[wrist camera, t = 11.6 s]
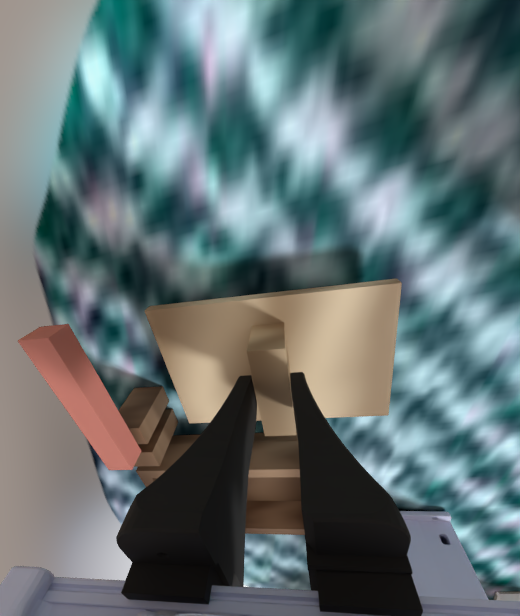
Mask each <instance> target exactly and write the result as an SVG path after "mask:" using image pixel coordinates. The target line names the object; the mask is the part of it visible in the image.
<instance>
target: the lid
mask: <svg viewBox="0 0 520 616" xmlns="http://www.w3.org/2000/svg"><path fill="white" fill-rule="evenodd" d="M401 285H402V283H401V282H400V281H399V280H398V279H389V280H380V281H371V282H362V283H353V284H344V285H335V286H326V287H317V288H308V289H299V290H290V291H281V292H272V293H263V294H254V295H245V296H236V297H227V298H218V299H209V300H200V301H192V302H183V303H174V304H165V305H156V306H149V307H148V308H147V309H146V310H145V314H146V316H147V319H148V321H149V324H150V326H151V329H152V331H153V334H154V336H155V339H156V341H157V344H158V346H159V349H160V351H161V354H162V356H163V359H164V361H165V364H166V366H167V369H168V371H169V374H170V376H171V379H172V381H173V384H174V386H175V389H176V391H177V394H178V396H179V399H180V401H181V404H182V406H183V409H184V411H185V414H186V416H187V419H188V421H189V423H210V422H211V421H212V419H213V418H214V417H215V415H216V414H217V412H218V411H219V409H220V408H221V406H222V405H223V403H224V402H225V400H226V399H227V397H228V395H229V394H230V392H231V390H232V388H233V387H234V385H235V383H236V381H237V379H238V377H239V376H245V375H251V376H252V381H253V386H254V390H255V395H256V400H257V419H256V421H261V420H262V425H263V429H264V434H265V436H288V435H296V424H295V417H294V409H293V401H292V393H291V384H290V373H294V372H303V373H304V374H305V378H306V382H307V384H308V387H309V389H310V391H311V393H312V396H313V398H314V399H315V401H316V403H317V405H318V407H319V409H320V410H321V412H322V414H323V415H324V417H325V418H334V417H359V416H383V415H388V413H389V403H390V393H391V384H392V374H393V364H394V354H395V344H396V334H397V324H398V314H399V305H400V295H401Z"/></svg>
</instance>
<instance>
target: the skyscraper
mask: <svg viewBox="0 0 520 616" xmlns="http://www.w3.org/2000/svg"><path fill="white" fill-rule="evenodd" d="M494 600H502V601H520V592H495V596H494Z"/></svg>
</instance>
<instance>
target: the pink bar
mask: <svg viewBox="0 0 520 616" xmlns="http://www.w3.org/2000/svg"><path fill="white" fill-rule="evenodd" d="M18 342H19V343H20V345H21V346H22V348H23V349H24V350H25V352H26V353H27V355H28V356H29V357H30V359H31V360H32V362H33V363H34V365H35V366H36V367H37V369H38V370H39V372H40V373H41V374H42V376H43V377H44V379H45V380H46V382H47V383H48V384H49V386H50V387H51V389H52V390H53V391H54V393H55V394H56V395H57V397H58V398H59V400H60V401H61V403H62V404H63V406H64V407H65V408H66V410H67V411H68V412H69V414H70V415H71V417H72V418H73V420H74V421H75V422H76V424H77V425H78V427H79V428H80V429H81V431H82V432H83V434H84V435H85V437H86V438H87V439H88V441H89V442H90V444H91V445H92V447H93V448H94V449H95V451H96V452H97V454H98V455H99V456H100V458H101V459H102V461H103V462H104V464H105V465H106V466H107V468H108V469H109V470H132V469H133V467H134V465H135V463H136V461H137V459H138V457H139V455H140V453H141V449H140V448H139V446H138V444H137V442H136V441H135V439H134V437H133V435H132V434H131V432H130V430H129V428H128V427H127V425H126V423H125V421H124V420H123V418H122V416H121V415H120V413H119V411H118V409H117V408H116V406H115V404H114V402H113V401H112V399H111V397H110V395H109V394H108V392H107V390H106V388H105V387H104V385H103V383H102V382H101V380H100V378H99V376H98V375H97V373H96V371H95V369H94V368H93V366H92V364H91V362H90V361H89V359H88V357H87V355H86V354H85V352H84V350H83V349H82V347H81V345H80V343H79V342H78V340H77V338H76V336H75V335H74V333H73V331H72V329H71V328H70V326H69V324H64V325H54V326H44V327H39V328H38V329H36V330H34V331H33V332H31V333H29V334H28V335H26V336H24V337H23V338H21V339H20V340H18Z"/></svg>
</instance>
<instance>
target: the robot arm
mask: <svg viewBox="0 0 520 616" xmlns="http://www.w3.org/2000/svg"><path fill="white" fill-rule="evenodd" d="M290 384H291V393H292V401H293V409H294V417H295V424H296V431H297V437H298V447H299V466H300V488H301V510H302V517H303V524H304V532H305V539H306V551H307V565H308V571H309V578H310V585H311V590H292V589H273V588H254V587H243V581H244V548H245V525H246V506H247V490H248V475H249V467H250V460H251V454H252V447H253V441H254V434H255V428H256V419H257V400H256V395H255V390H254V386H253V381H252V376H251V375H245V376H239V377H238V379H237V381H236V383H235V385H234V387H233V388H232V390H231V392H230V394H229V395H228V397H227V399H226V400H225V402H224V403H223V405H222V406H221V408H220V409H219V411H218V412H217V414H216V415H215V417H214V418H213V419H212V421H211V422H210V424H209V425H208V426H207V427H206V429H205V430H204V431H203V432H202V434H201V435H200V436H199V437H198V438H197V440H196V441H195V442H194V443H193V444H192V445H191V446H190V447H189V448H188V450H187V451H186V452H185V453H184V454H183V455H182V456H181V457H180V458H179V459H178V460H177V461H176V462H175V463H174V464H172V465H171V466H170V467H169V468H168V469H167V470H166V471H165V472H164V473H163V474H162V475H161V476H159V477H158V478H157V479H156V480H155V481H153V482H152V483H151V484H150V485H149V486H147V487H146V488H145V489H144V490H142V491H141V492H140V493H139V494H137V495H136V497H135V499H134V501H133V503H132V505H131V506H130V509H129V511H128V513H127V515H126V517H125V519H124V521H123V524H122V526H121V528H120V530H119V533H118V535H117V544H118V546H119V547H120V549H121V550H122V551H123V552H124V553H125V554H126V556H127V557H128V558H129V559H130V560H131V561H132V562H133V563H132V565H131V568H130V570H129V573H128V576H127V578H126V581H120V580H101V579H82V578H64V577H54V575H53V574H52V573H51V572H50V571H48V570H47V569H44V568H40V567H26V566H14V567H13V568H12V569H11V570H10V572H9V573H8V574H7V576H6V577H5V579H4V580H3V582H2V583H1V584H0V616H520V601H502V600H488V597H487V595H486V593H485V591H484V589H483V587H482V585H481V583H480V581H479V579H478V577H477V575H476V573H475V571H474V569H473V567H472V565H471V563H470V561H469V559H468V557H467V555H466V553H465V551H464V549H463V547H462V545H461V543H460V541H459V539H458V537H457V535H456V533H455V531H454V529H453V527H452V525H451V522H450V520H451V516H450V514H449V513H448V512H444V511H399V509H398V508H397V506H396V504H395V503H394V501H393V499H392V498H391V496H390V495H389V494H388V493H387V492H386V491H385V490H384V489H383V488H382V487H381V486H380V485H379V484H378V483H377V482H376V481H375V480H374V479H373V478H372V477H371V475H370V474H369V473H368V472H367V471H366V470H365V469H364V468H363V467H362V466H361V465H360V463H359V462H358V461H357V460H356V459H355V458H354V456H353V455H352V454H351V453H350V452H349V450H348V449H347V448H346V447H345V446H344V444H343V443H342V442H341V440H340V439H339V438H338V436H337V435H336V434H335V432H334V431H333V429H332V428H331V426H330V425H329V423H328V422H327V420H326V419H325V417H324V415H323V414H322V412H321V410H320V409H319V407H318V405H317V403H316V401H315V399H314V398H313V396H312V393H311V391H310V389H309V387H308V384H307V382H306V378H305V374H304V373H303V372H294V373H290Z"/></svg>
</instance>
